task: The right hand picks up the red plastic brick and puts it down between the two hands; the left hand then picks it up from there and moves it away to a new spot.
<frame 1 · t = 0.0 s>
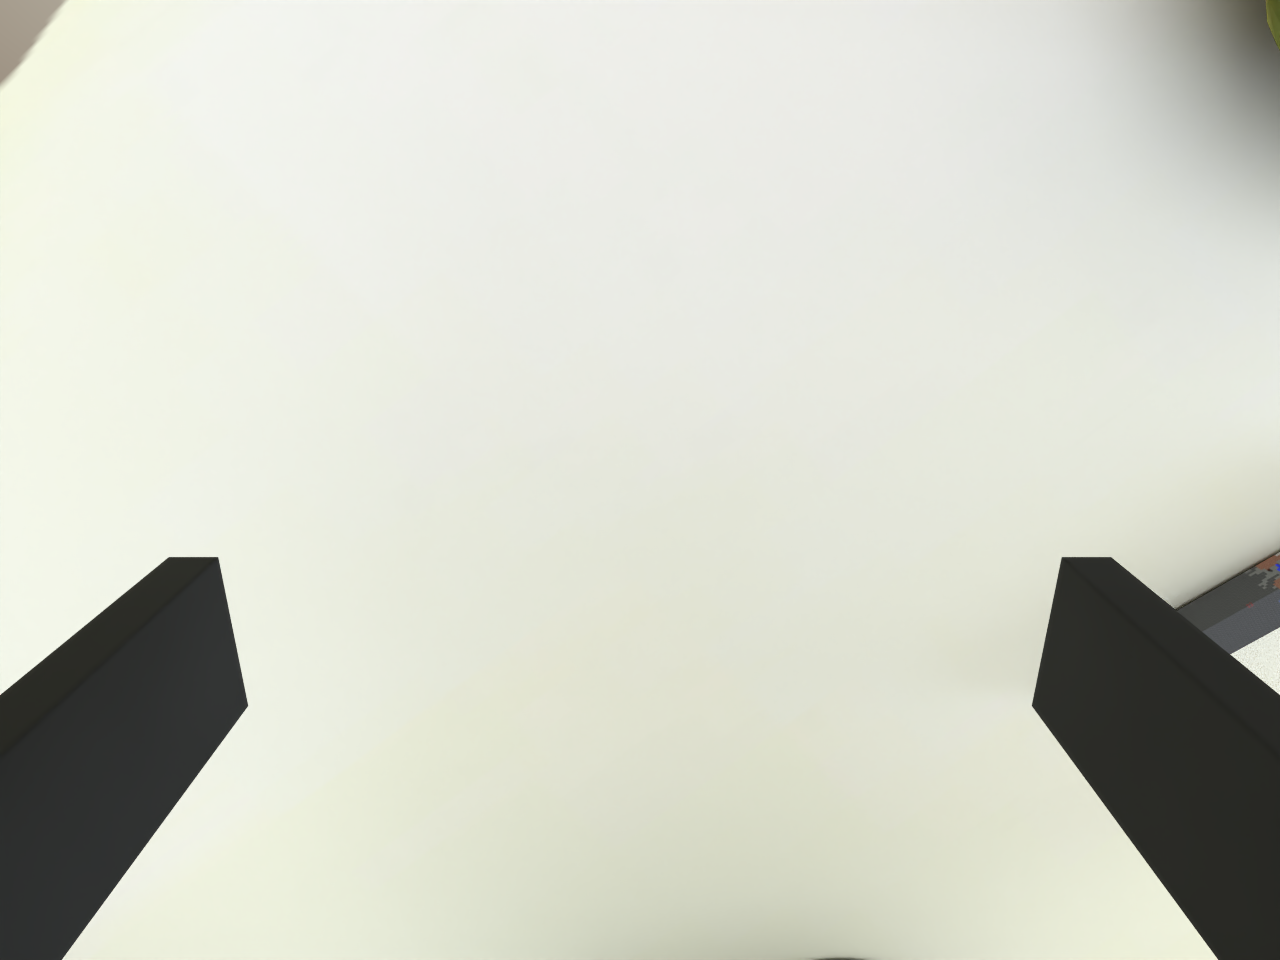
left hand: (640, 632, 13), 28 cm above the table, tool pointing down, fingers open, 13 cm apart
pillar: (1245, 587, 44), on the table
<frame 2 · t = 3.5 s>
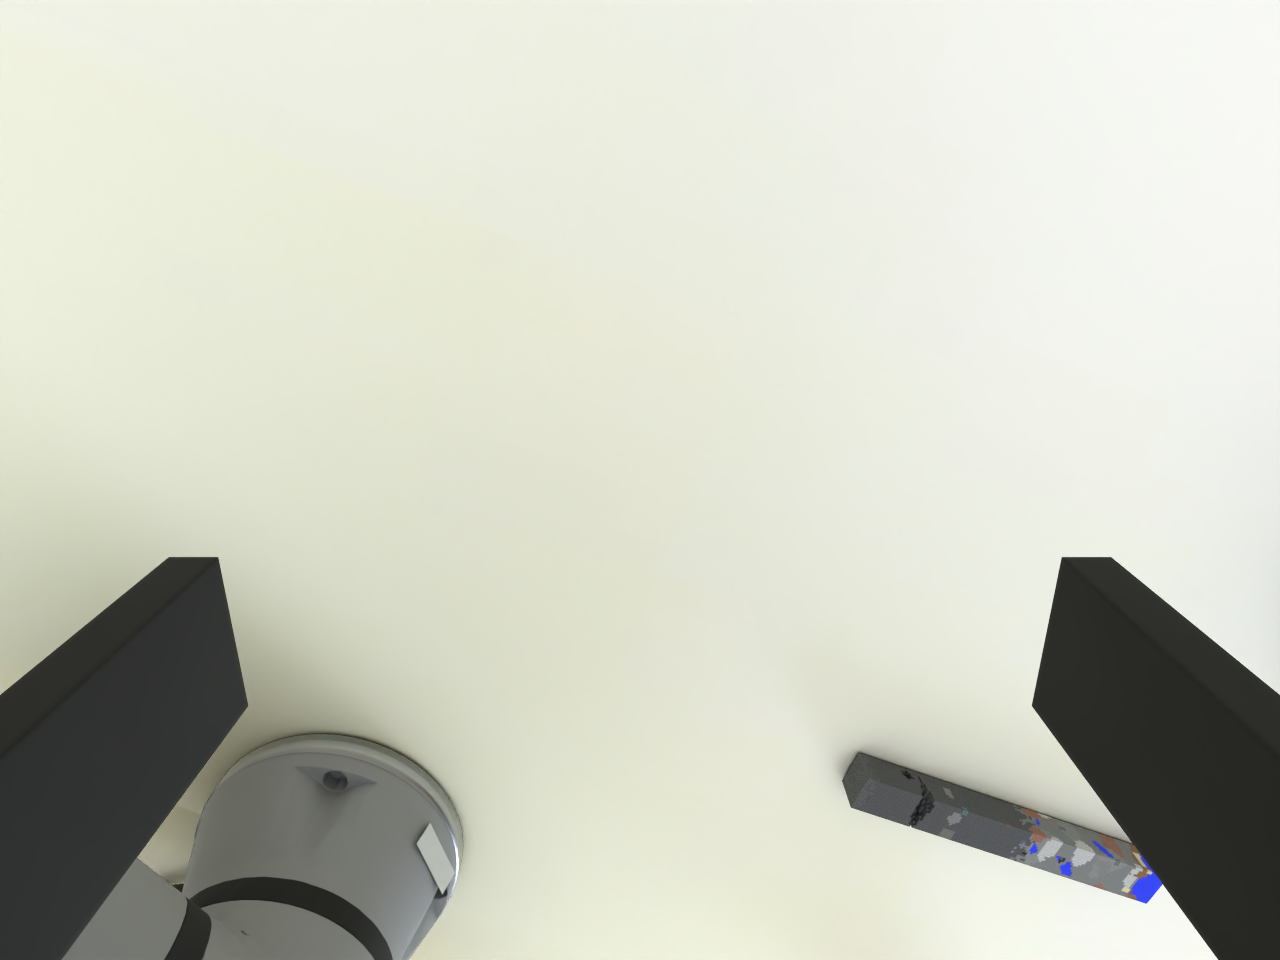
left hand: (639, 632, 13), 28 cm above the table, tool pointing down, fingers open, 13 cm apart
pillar: (998, 813, 49), on the table
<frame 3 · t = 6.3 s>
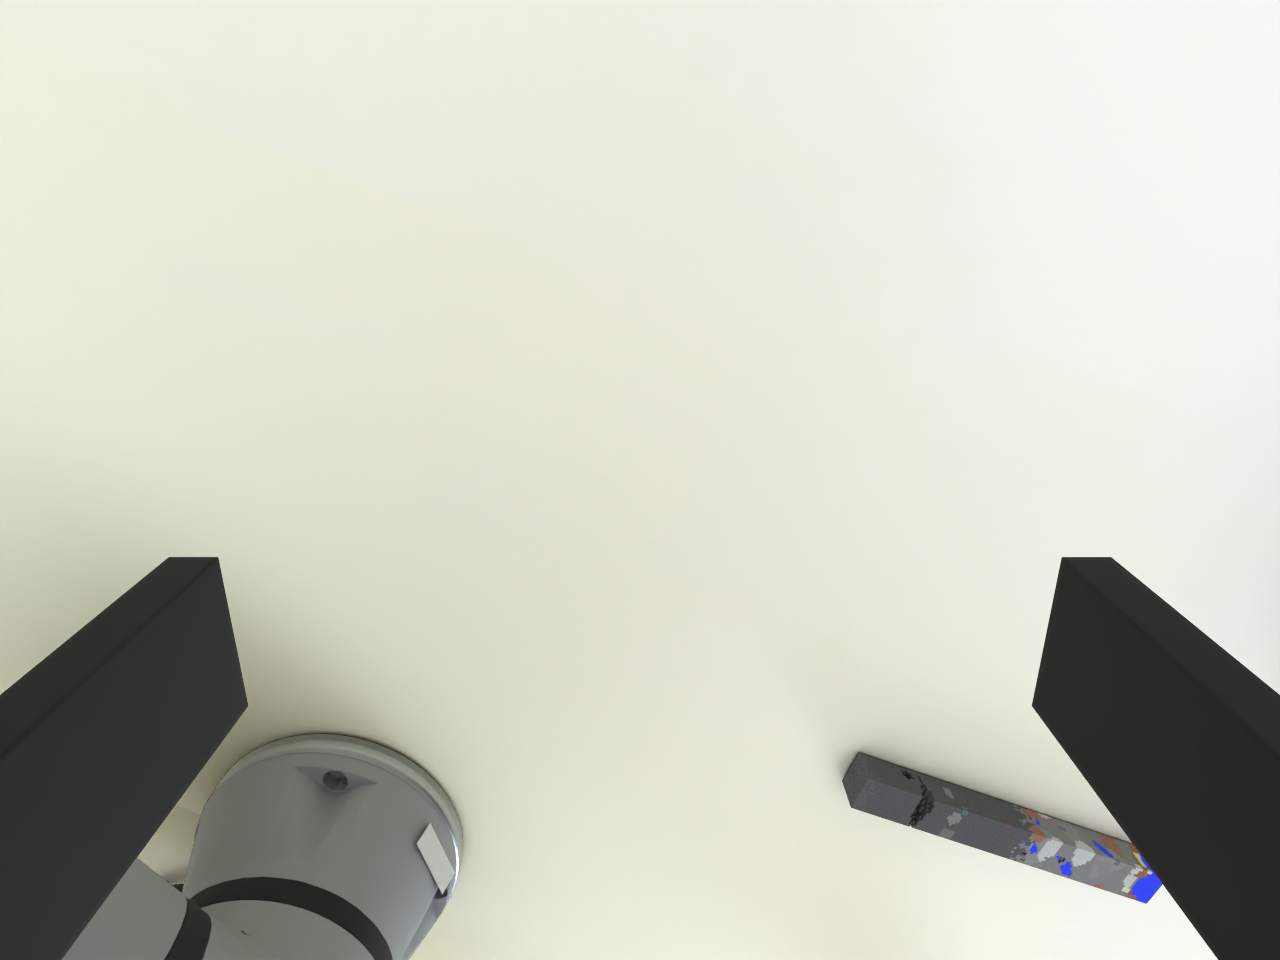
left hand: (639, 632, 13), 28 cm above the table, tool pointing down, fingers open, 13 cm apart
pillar: (998, 813, 49), on the table
when the right hand's fingers open (4 cm above the table, at t = 9.0 s): brick drops 1 cm, on the table.
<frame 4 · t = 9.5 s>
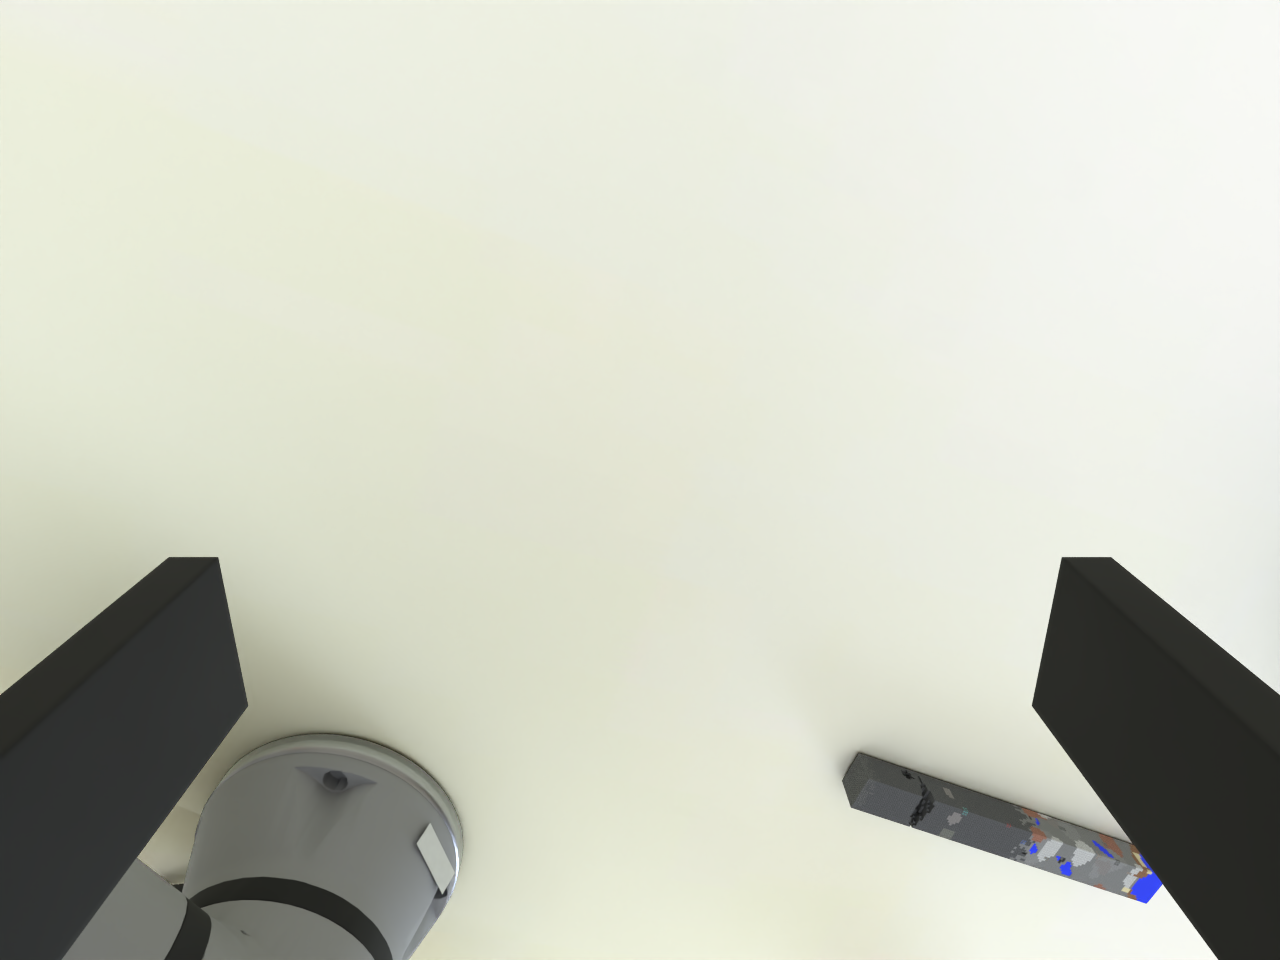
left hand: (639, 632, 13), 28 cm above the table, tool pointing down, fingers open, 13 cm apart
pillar: (998, 813, 49), on the table
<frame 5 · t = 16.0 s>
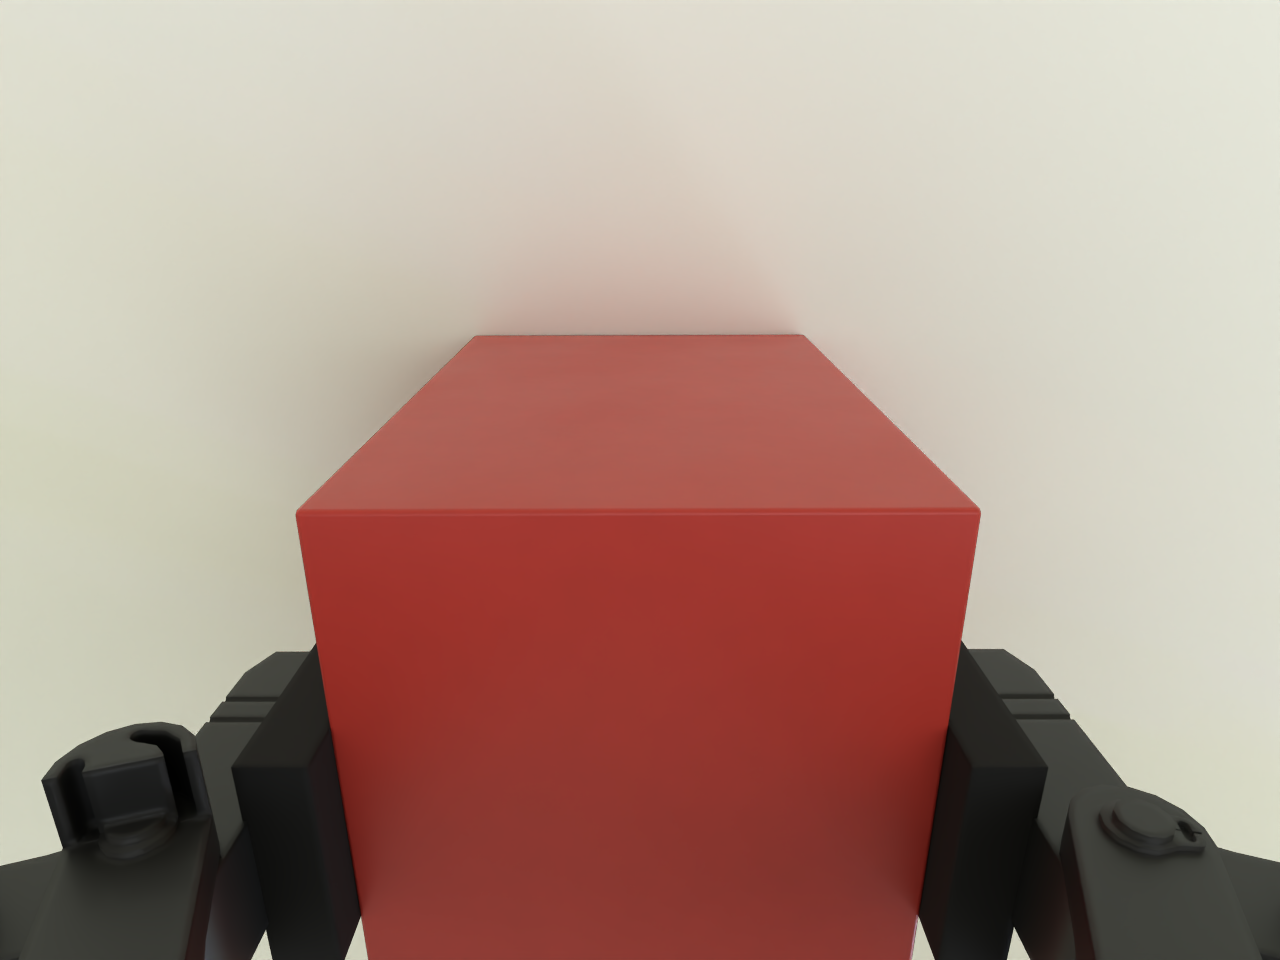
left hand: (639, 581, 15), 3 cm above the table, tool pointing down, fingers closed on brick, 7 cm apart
brick: (639, 511, 18), on the table, touching left hand
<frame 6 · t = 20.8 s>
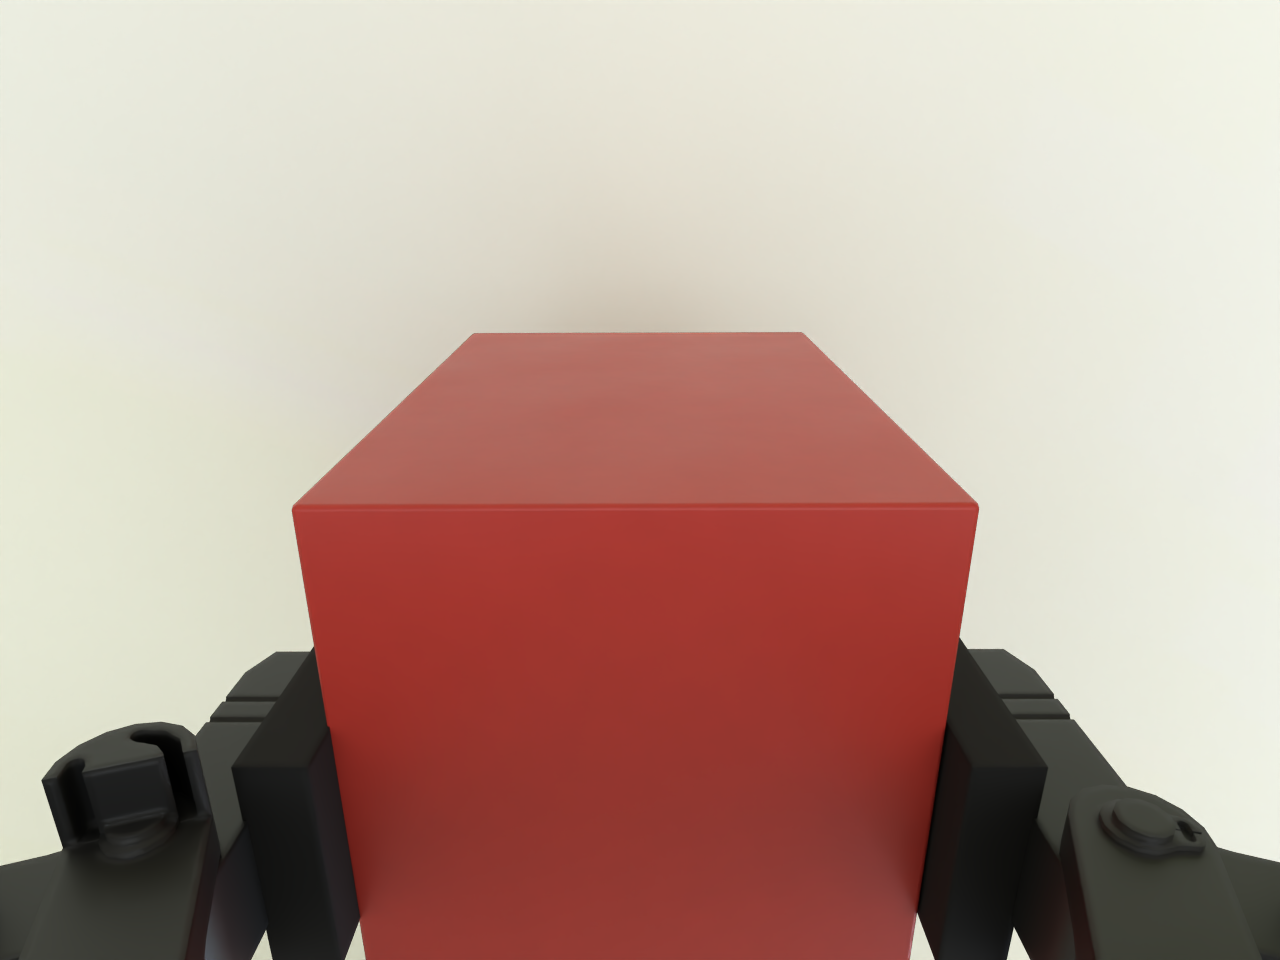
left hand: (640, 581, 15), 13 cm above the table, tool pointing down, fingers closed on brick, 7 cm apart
brick: (638, 509, 18), point 9 cm above the table, touching left hand
when the left hand's fingers open (4 cm above the table, at t = 26.0 s): brick drops 1 cm, on the table.
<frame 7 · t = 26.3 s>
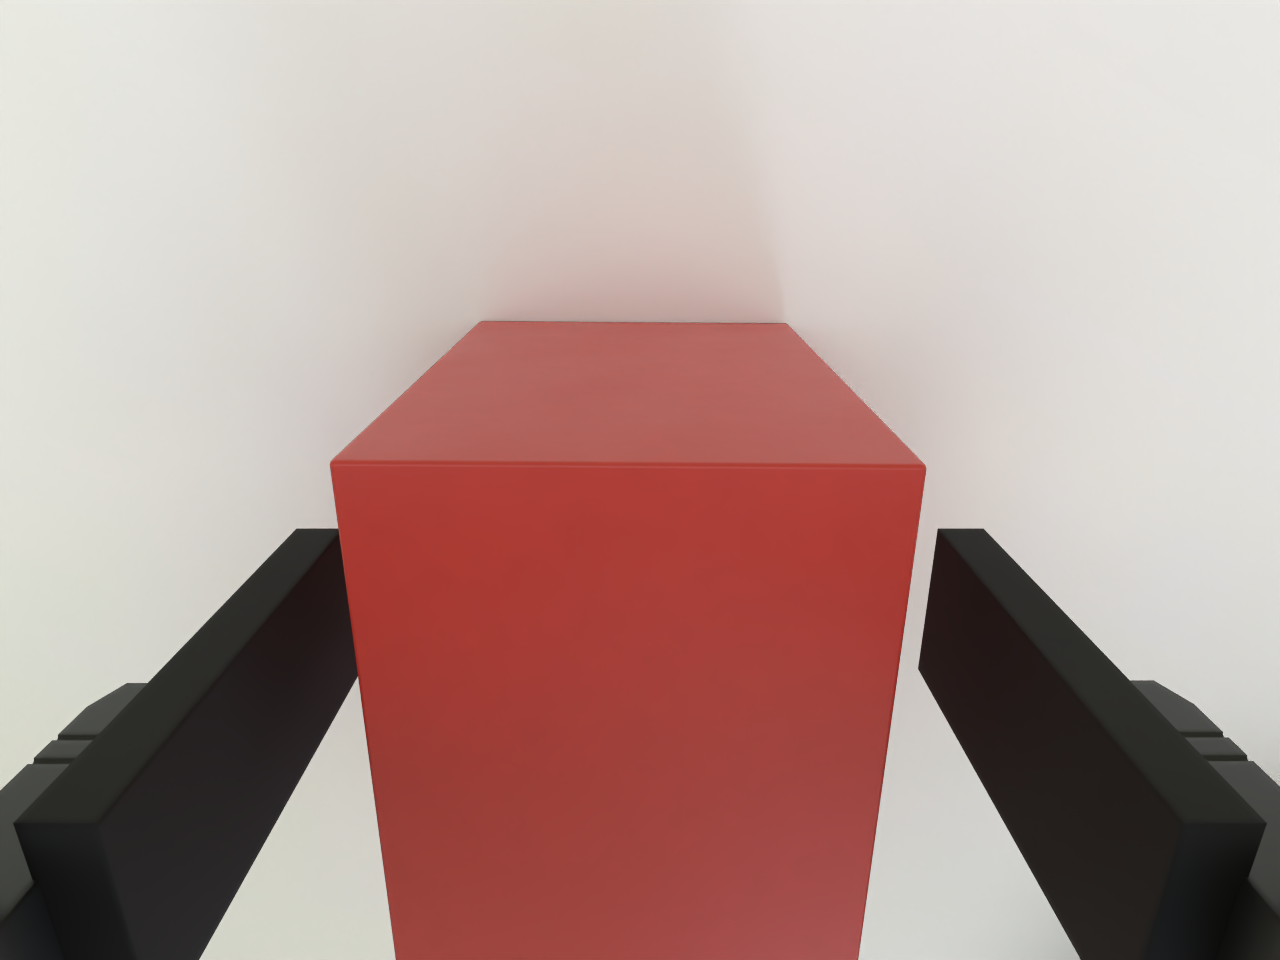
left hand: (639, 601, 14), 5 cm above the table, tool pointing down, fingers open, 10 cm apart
brick: (632, 488, 19), on the table
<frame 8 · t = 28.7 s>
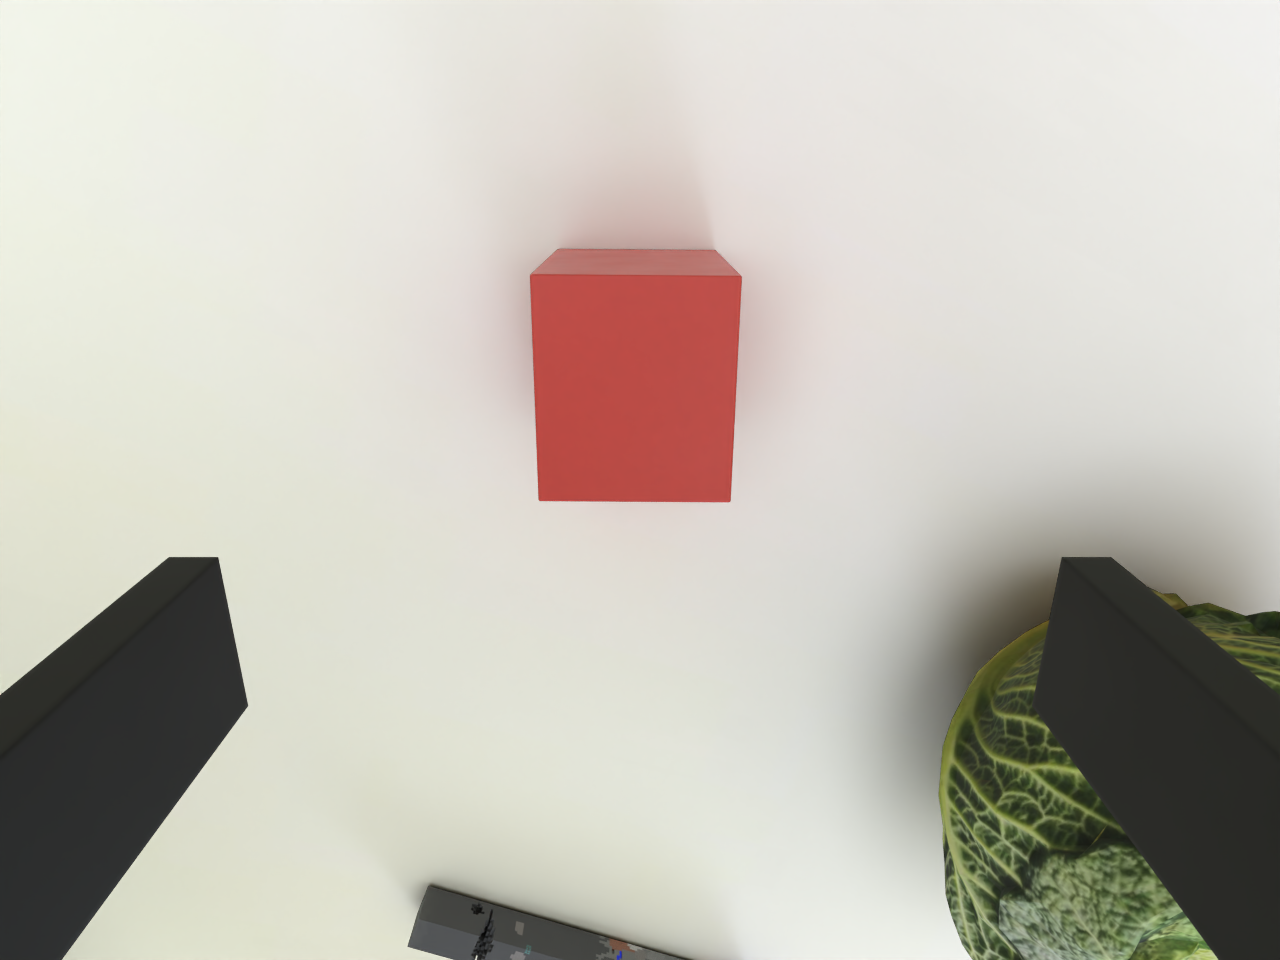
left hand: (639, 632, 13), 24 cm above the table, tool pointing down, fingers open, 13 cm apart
vegetable: (1076, 696, 42), on the table
brick: (636, 340, 35), on the table
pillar: (589, 944, 48), on the table
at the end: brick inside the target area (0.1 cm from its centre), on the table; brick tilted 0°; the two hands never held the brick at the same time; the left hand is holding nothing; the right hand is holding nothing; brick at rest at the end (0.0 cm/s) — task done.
